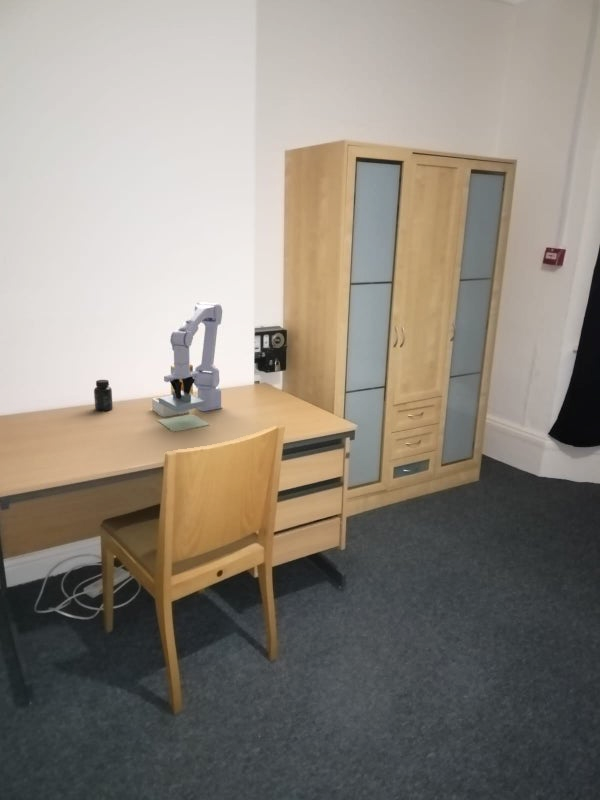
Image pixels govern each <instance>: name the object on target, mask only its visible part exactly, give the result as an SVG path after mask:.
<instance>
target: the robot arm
mask: <svg viewBox="0 0 600 800" xmlns="http://www.w3.org/2000/svg"><path fill="white" fill-rule="evenodd" d="M222 307H223V306H221V303H219V302H218V303H214V302H212V303H211V302H200V301H198V302H197V303H196V304H195V305H194V313H193V314H192V316H191V318H190V319H186V320H185V321H184V322H183V324H182V325H181V326H180V327H179V328H178V330H175V331H173V332H172V333H171V336H170V344H171V350H172V351H173V366H174V374H171V373H170V374H168V375H164V376H163V381H164V382H165V383H170V386H171V385H172V386H173V388H174V391H175V394H176V398H178V399H181V386H182V382H180V381H179V380H180V379H182V381H183V386H184V392H186V393H188V394H189V393H190V390H191V387H192V385H193V386H195V388H196V389H197V397H198V398H200V399H202V400H204V401H205V406H204V407H199V408H196V409H198V410H199V411H201V412H206V411H213V410H218V409H222V408H223V406H222V390H221V388H220V387H219V384H220V370H219V369H218V368H217V367H216V366H215V365H214V362H215V352H216V342H217V334H218V326H219V325H221V324H222V319H223V308H222ZM201 323H202V324H203V325H204V326H205V327H204V328H205V329H204V337H203V345H202V346H203V347H202V352H201V364H198V366H196V367H195V369H194V371H193V372H190V365H191V364H190V363H191V362H190V347H191V346H192V344H193V340H194V336H195V335H196V333H198V331H199V324H201Z"/></svg>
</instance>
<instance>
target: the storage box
mask: <svg viewBox="0 0 600 800" xmlns="http://www.w3.org/2000/svg"><path fill="white" fill-rule="evenodd" d="M159 397H160V396H158V397H152V398H151V406H152V407H151V408H152V411H153V410H154V411H153V412H155V413H156V412H157V414H158V415H159V414H160V415H159V416H161V417H162V416H163V417H162V418H167V417H173V416H178V415H177V414H179V415H185V414H189V412H190V411H189V410H190V409H189V410H185V411H180V412H175V411H173V410H171V409H170V408H168V407H166V406H164V405H162V404H160V403H159ZM184 413H185V414H184ZM172 415H173V416H172ZM166 416H167V417H166Z"/></svg>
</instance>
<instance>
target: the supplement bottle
mask: <svg viewBox="0 0 600 800" xmlns="http://www.w3.org/2000/svg"><path fill="white" fill-rule="evenodd" d="M95 386H96V387H94V388H93V389H94V390H93V395H94V396H93V397H94V408H95V410H96V412H101V411H104V412H109V410H110V411H111V410H112V409H113V408H114V406H113V391H112V387H111V386H110V383H109V380H108V379H99V380H96V381H95Z"/></svg>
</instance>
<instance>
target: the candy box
mask: <svg viewBox="0 0 600 800" xmlns="http://www.w3.org/2000/svg"><path fill="white" fill-rule="evenodd" d="M193 366H194V365H192V364H190V372H193V370H194V367H193ZM171 374H174V365H170V375H171ZM179 381H180V382H182V386H181V390H182V391H184V386H183V381H182V379H180V380H179ZM173 391H174V388H173V386H172V385H171V384H170V393H171V394H170V395H173ZM189 394H191V395H193V396H194V384H193V385H192V387H191V390H190V393H189Z"/></svg>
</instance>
